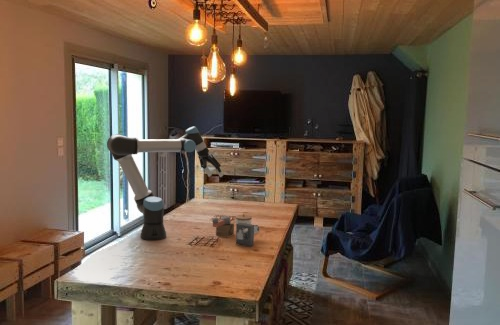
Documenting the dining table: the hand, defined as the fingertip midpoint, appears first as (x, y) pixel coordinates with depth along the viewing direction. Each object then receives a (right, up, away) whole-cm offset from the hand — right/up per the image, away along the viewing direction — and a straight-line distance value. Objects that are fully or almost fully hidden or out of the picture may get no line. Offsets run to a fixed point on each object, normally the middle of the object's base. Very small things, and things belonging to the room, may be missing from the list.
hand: (216, 176), depth 296 cm
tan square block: (+7, -36, -20) cm, 42 cm away
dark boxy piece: (+20, -39, -39) cm, 58 cm away
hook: (+22, -34, -36) cm, 54 cm away
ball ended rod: (+5, -29, -25) cm, 39 cm away
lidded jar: (+18, -34, -3) cm, 39 cm away
